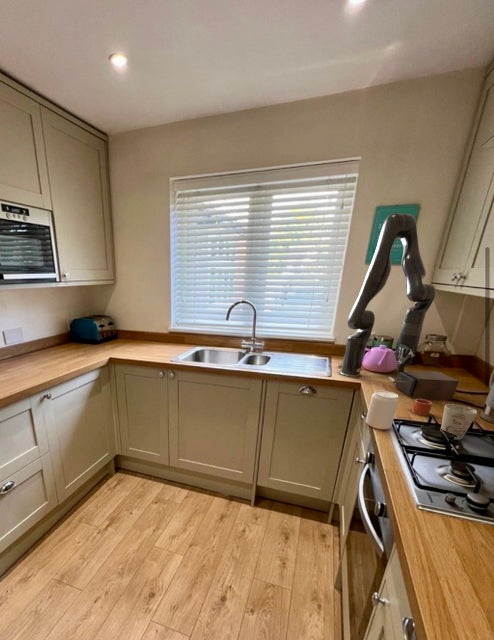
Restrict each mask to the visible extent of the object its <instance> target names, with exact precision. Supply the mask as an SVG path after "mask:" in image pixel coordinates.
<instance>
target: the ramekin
mask: <svg viewBox="0 0 494 640" xmlns="http://www.w3.org/2000/svg"><path fill="white" fill-rule="evenodd" d="M432 406H433V402H432V401H430V400H429V399H421V398H414V401H413V405H412V408H411V412H412V414H415V415H417V416H423V417H428V416H429V415H430V412H431V410H432Z"/></svg>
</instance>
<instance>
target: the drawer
mask: <svg viewBox="0 0 494 640" xmlns="http://www.w3.org/2000/svg"><path fill="white" fill-rule="evenodd" d="M397 373H398V374H397V377H392V376H388V377H387V380H389V381H390V382H392V383H393V384H394V387H396V388H397V389H399V390H400V391H402V392H403V393H404V394H406V395H407V396H409V395H411V394H412V393H414V389H415V386H416V383H417V379H415V378H413V377H411V376H410V375H408V374H406V373H405V374H404V373H402V372H397Z"/></svg>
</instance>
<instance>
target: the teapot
mask: <svg viewBox="0 0 494 640" xmlns="http://www.w3.org/2000/svg"><path fill="white" fill-rule="evenodd" d="M366 351H367V352H366ZM398 364H399V363H398V361H396V352H395V350H393V349H390V348H387V345H384V344H380V345H379V347H378V346H377V347H371V349H370V348H366V350H365V354H364V358H363V362H362V367H363V368H364V369H366V370H368V371H370V372H377V373H391V372H393V371H394V370H395V369H397V367H398Z"/></svg>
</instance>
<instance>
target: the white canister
mask: <svg viewBox="0 0 494 640" xmlns="http://www.w3.org/2000/svg"><path fill="white" fill-rule="evenodd" d="M399 402H400V399H399V395H398V394H397V393H396V392H392V391H388V390H375V391H374V393H372V394H371V398H370V401H369V406H368V410H367V414H366V418H365V423H366V424H367V425H368V426H370V427H371V428H374V429H378V430H389V429H391V428H392V426H393V423H394V419H395V416H396V412H397V409H398V405H399Z"/></svg>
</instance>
